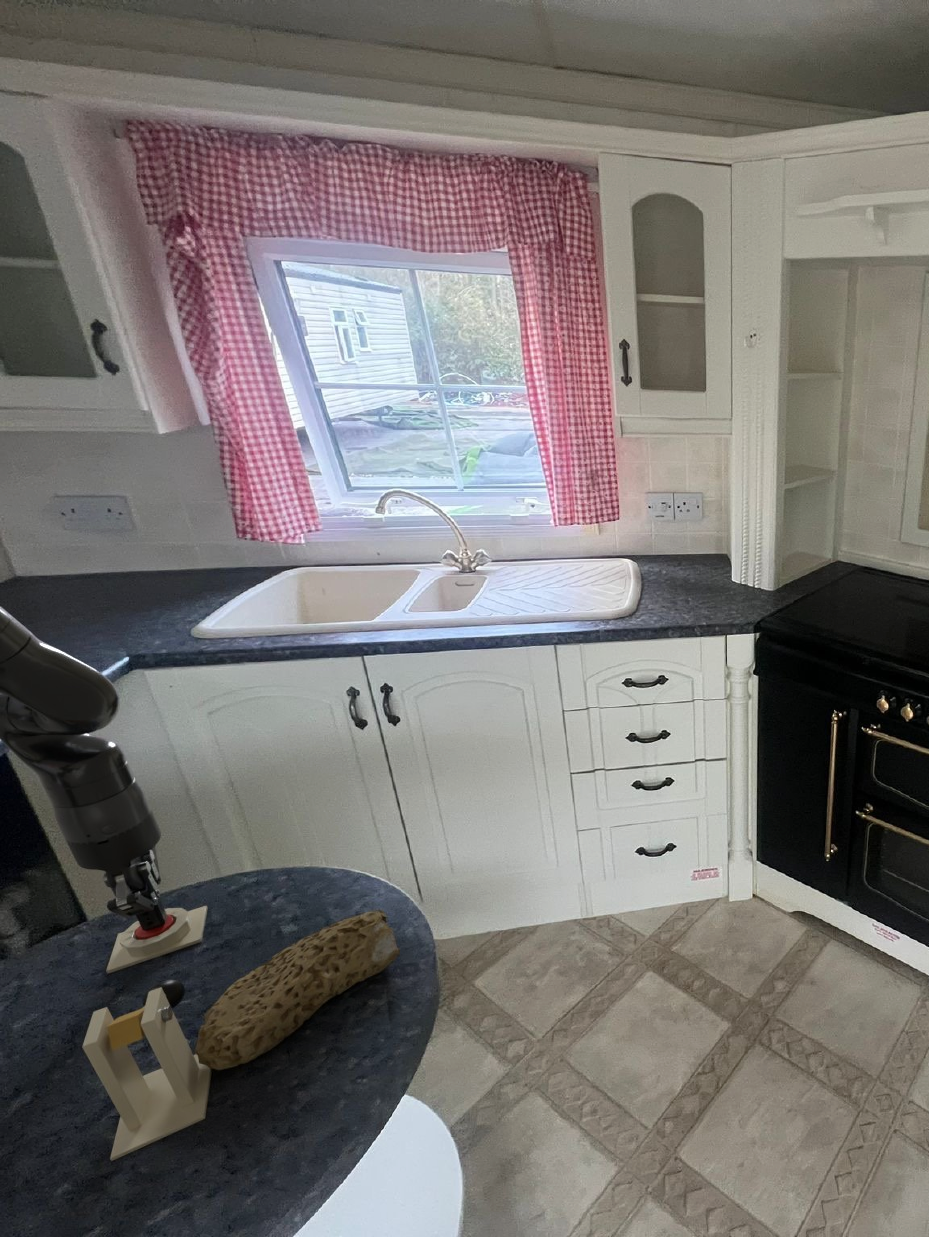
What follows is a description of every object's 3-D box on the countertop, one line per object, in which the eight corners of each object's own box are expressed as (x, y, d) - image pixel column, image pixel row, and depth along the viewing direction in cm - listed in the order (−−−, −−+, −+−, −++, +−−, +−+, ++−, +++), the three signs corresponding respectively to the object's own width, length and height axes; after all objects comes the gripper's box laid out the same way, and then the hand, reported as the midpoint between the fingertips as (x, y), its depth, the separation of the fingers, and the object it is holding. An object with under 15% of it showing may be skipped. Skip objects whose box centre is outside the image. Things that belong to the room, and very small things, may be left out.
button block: (109, 978, 84) (100, 961, 83) (121, 940, 89) (113, 924, 88) (203, 946, 89) (196, 929, 88) (209, 912, 94) (203, 896, 93)
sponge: (378, 933, 93) (183, 1002, 78) (383, 892, 91) (182, 955, 76) (408, 1006, 86) (199, 1098, 71) (415, 963, 83) (199, 1049, 68)
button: (137, 950, 86) (132, 941, 85) (142, 932, 89) (138, 922, 88) (174, 938, 88) (170, 928, 87) (178, 920, 91) (174, 910, 90)
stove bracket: (132, 1088, 72) (84, 999, 67) (216, 1053, 76) (178, 966, 71) (113, 1166, 65) (59, 1073, 60) (207, 1123, 69) (163, 1032, 64)
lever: (151, 1014, 76) (145, 985, 76) (191, 999, 77) (185, 970, 78) (103, 1059, 64) (96, 1024, 64) (151, 1040, 66) (145, 1006, 66)
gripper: (78, 801, 84) (127, 904, 91) (47, 864, 74) (104, 974, 81) (158, 782, 88) (199, 882, 95) (139, 839, 79) (186, 946, 85)
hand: (155, 924), depth 88 cm, fingers closed
